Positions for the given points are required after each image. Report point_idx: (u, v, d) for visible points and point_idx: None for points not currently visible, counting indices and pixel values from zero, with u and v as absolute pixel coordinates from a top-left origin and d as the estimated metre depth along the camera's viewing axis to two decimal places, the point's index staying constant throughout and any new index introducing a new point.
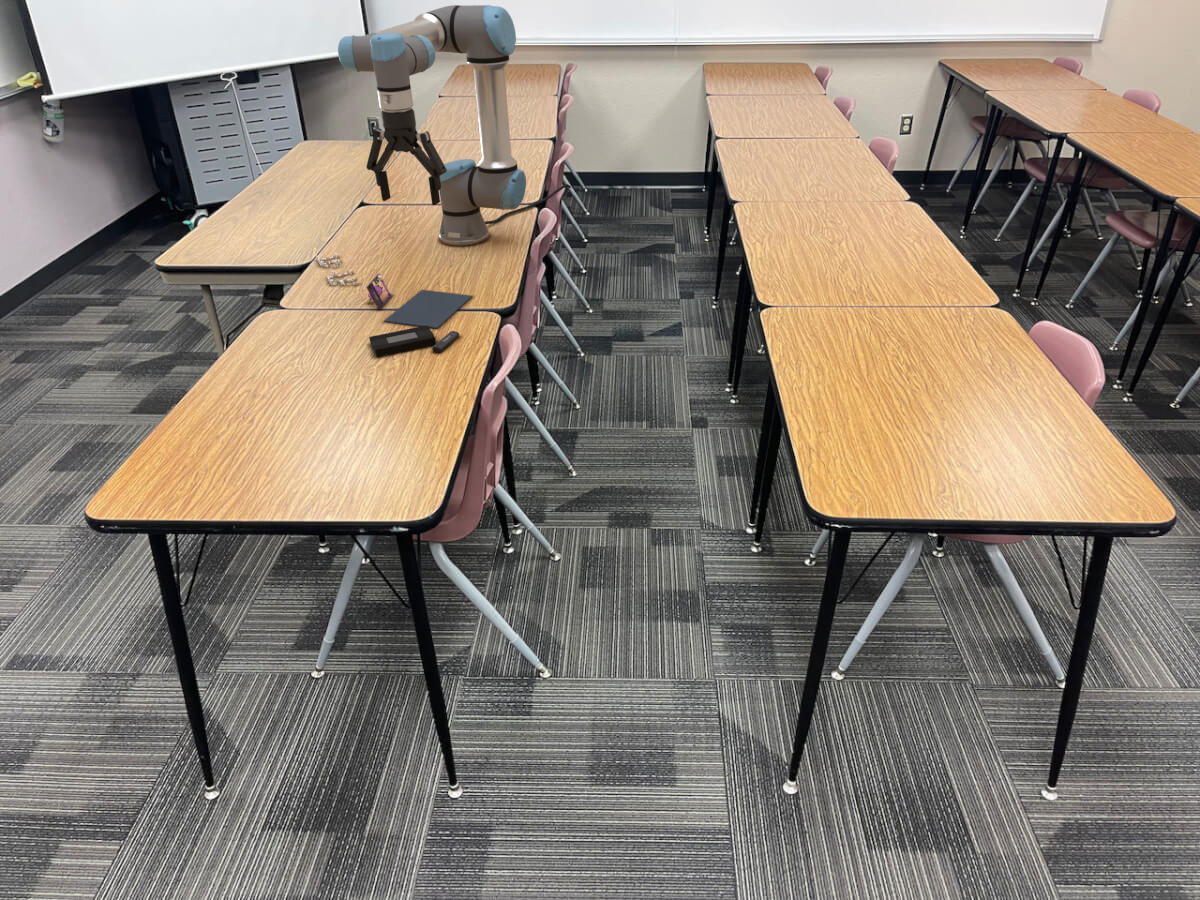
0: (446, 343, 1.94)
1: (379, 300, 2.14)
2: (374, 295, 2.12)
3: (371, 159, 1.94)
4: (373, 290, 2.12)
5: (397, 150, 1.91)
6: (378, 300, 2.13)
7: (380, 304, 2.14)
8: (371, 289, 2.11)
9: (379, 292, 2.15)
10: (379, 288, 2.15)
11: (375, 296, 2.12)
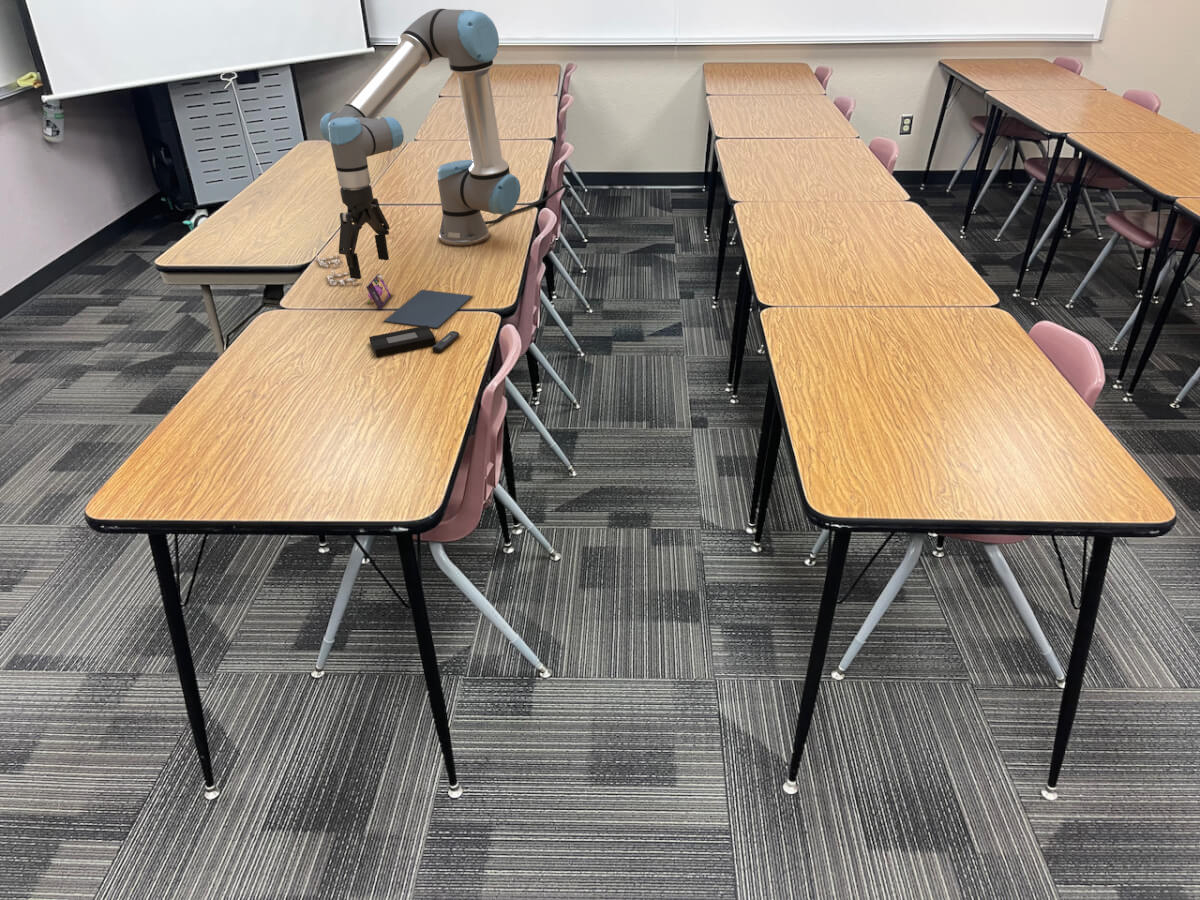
0: (446, 343, 1.94)
1: (379, 300, 2.14)
2: (374, 295, 2.12)
3: None
4: (373, 290, 2.12)
5: None
6: (378, 300, 2.13)
7: (380, 304, 2.14)
8: (371, 289, 2.11)
9: (379, 292, 2.15)
10: (379, 288, 2.15)
11: (375, 296, 2.12)
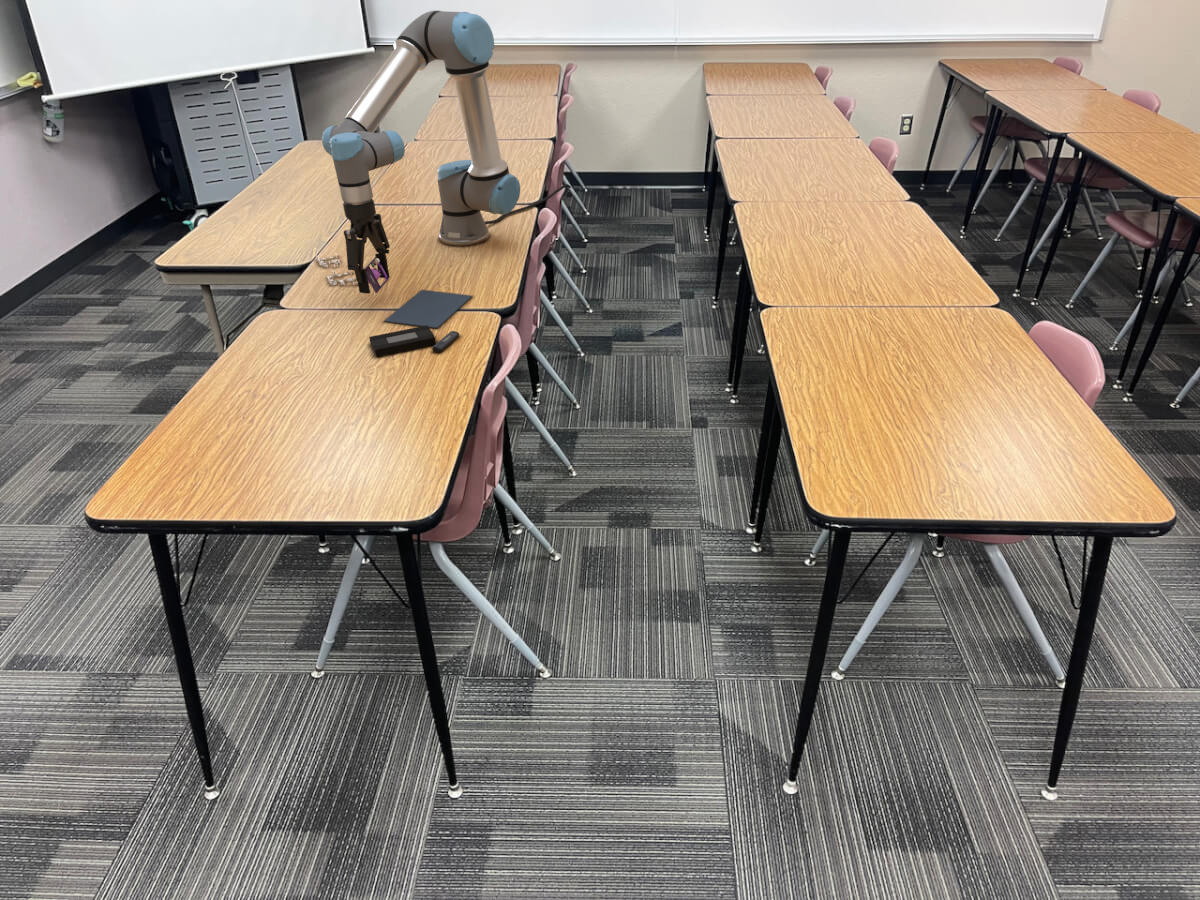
0: (446, 343, 1.94)
1: (376, 283, 2.11)
2: (371, 278, 2.09)
3: None
4: (370, 273, 2.10)
5: None
6: (375, 283, 2.11)
7: (377, 287, 2.11)
8: (368, 272, 2.09)
9: (376, 275, 2.12)
10: (376, 271, 2.13)
11: (372, 279, 2.10)
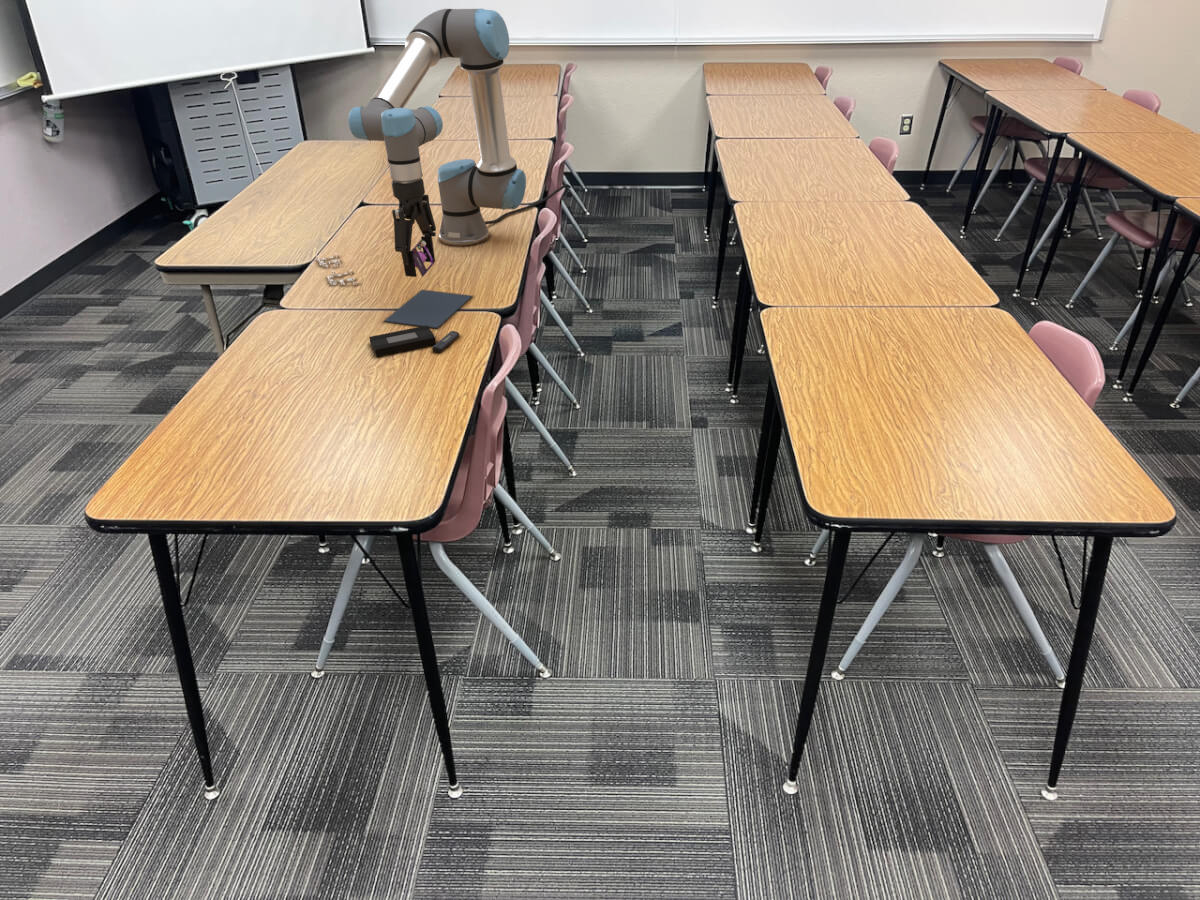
0: (446, 343, 1.94)
1: (422, 267, 2.03)
2: (417, 261, 2.02)
3: None
4: (416, 256, 2.02)
5: None
6: (421, 266, 2.03)
7: (423, 271, 2.03)
8: (414, 254, 2.01)
9: (422, 258, 2.05)
10: (422, 254, 2.05)
11: (418, 262, 2.02)
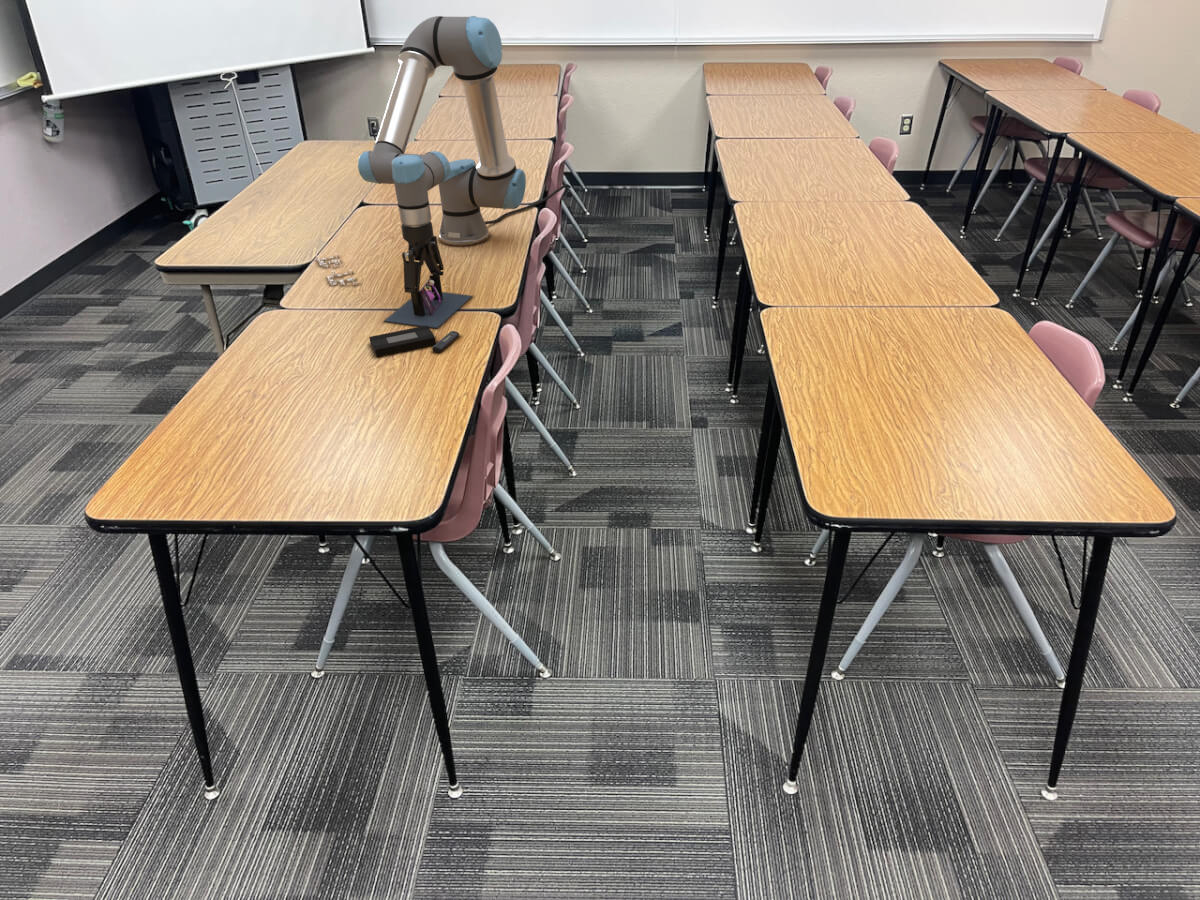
0: (446, 343, 1.94)
1: (431, 305, 2.09)
2: (426, 300, 2.07)
3: None
4: (425, 295, 2.08)
5: None
6: (430, 305, 2.09)
7: (432, 309, 2.09)
8: (423, 294, 2.07)
9: (431, 297, 2.10)
10: (431, 293, 2.11)
11: (427, 301, 2.08)
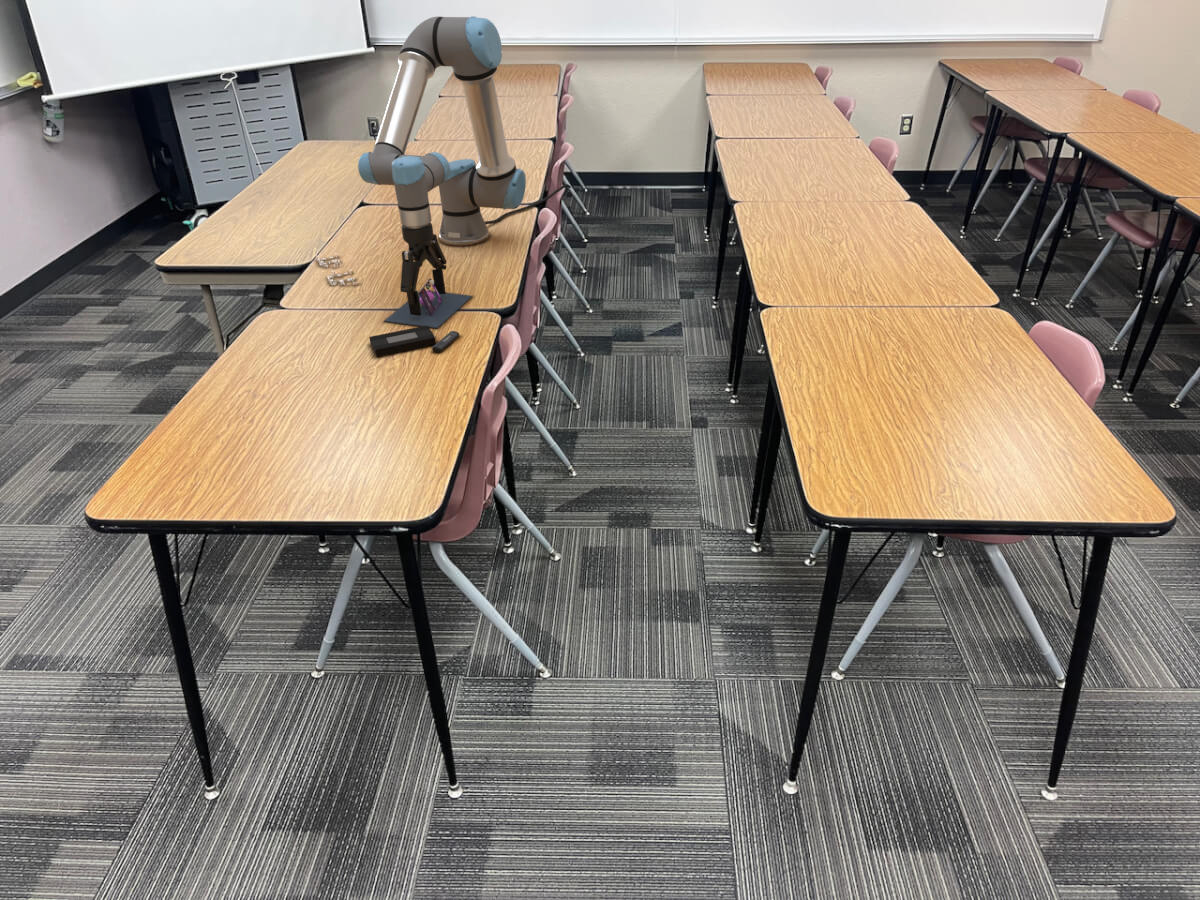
0: (446, 343, 1.94)
1: (431, 306, 2.09)
2: (426, 300, 2.07)
3: None
4: (425, 295, 2.08)
5: None
6: (430, 306, 2.09)
7: (432, 310, 2.09)
8: (423, 294, 2.07)
9: (431, 297, 2.10)
10: (431, 293, 2.11)
11: (427, 301, 2.08)
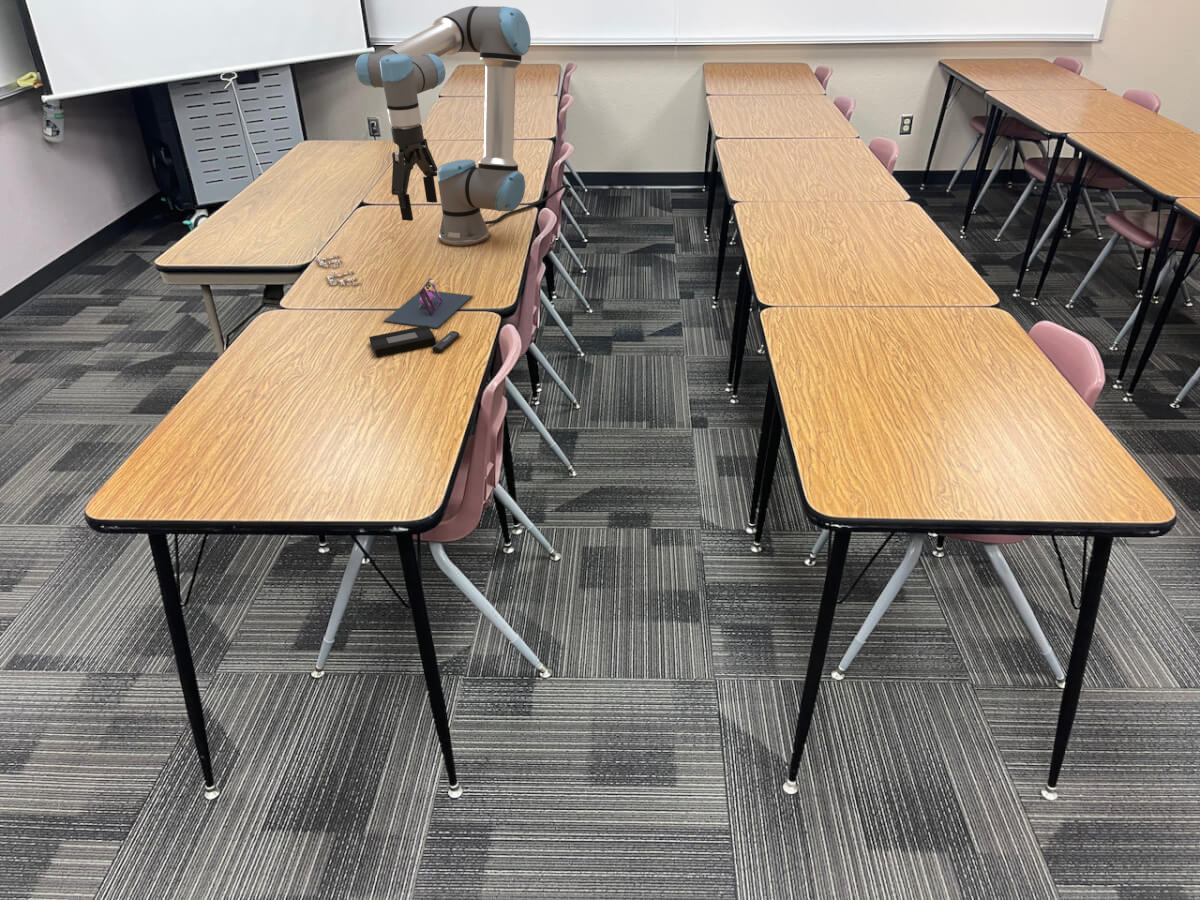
0: (446, 343, 1.94)
1: (431, 306, 2.09)
2: (426, 300, 2.07)
3: None
4: (425, 295, 2.08)
5: None
6: (430, 306, 2.09)
7: (432, 310, 2.09)
8: (423, 294, 2.07)
9: (431, 297, 2.10)
10: (431, 293, 2.11)
11: (427, 301, 2.08)
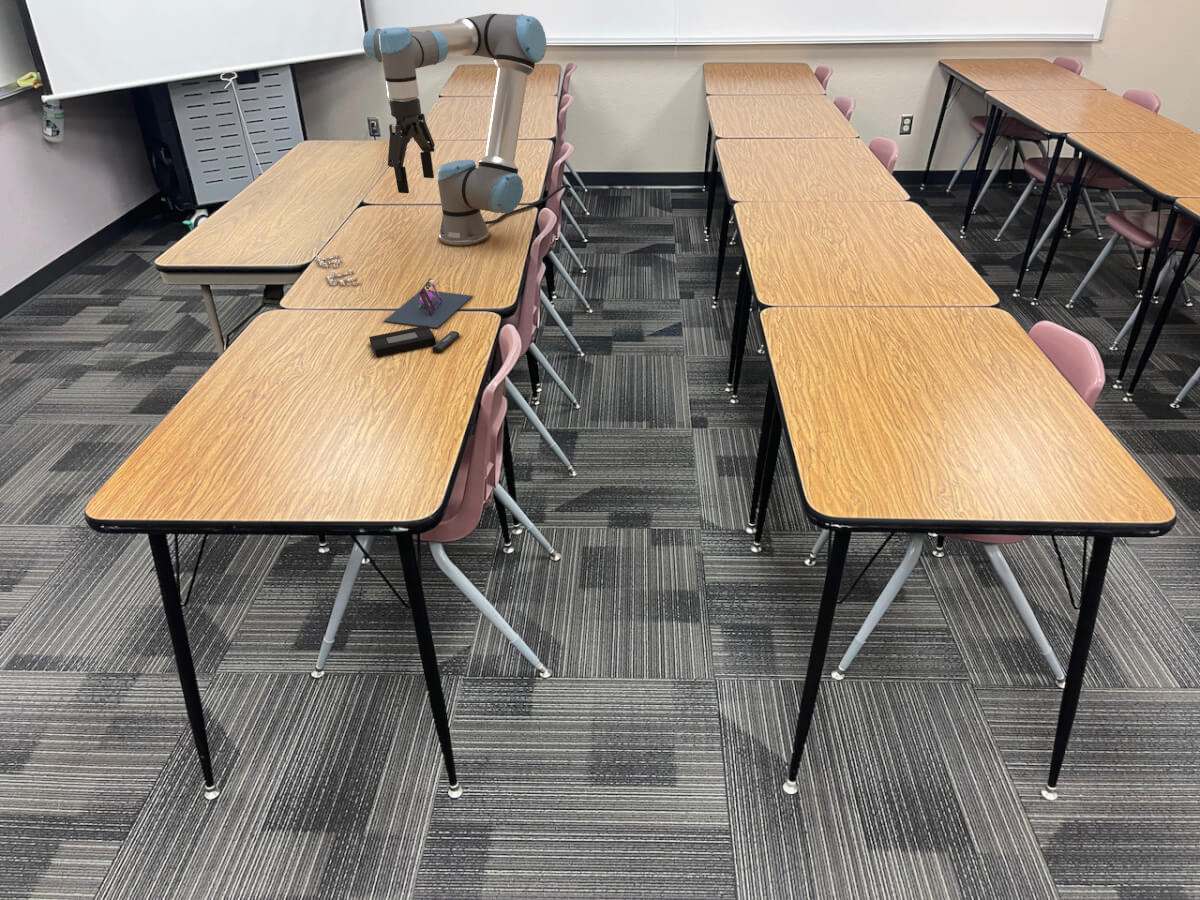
0: (446, 343, 1.94)
1: (431, 306, 2.09)
2: (426, 300, 2.07)
3: None
4: (425, 295, 2.08)
5: None
6: (430, 306, 2.09)
7: (432, 310, 2.09)
8: (423, 294, 2.07)
9: (431, 297, 2.10)
10: (431, 293, 2.11)
11: (427, 301, 2.08)
